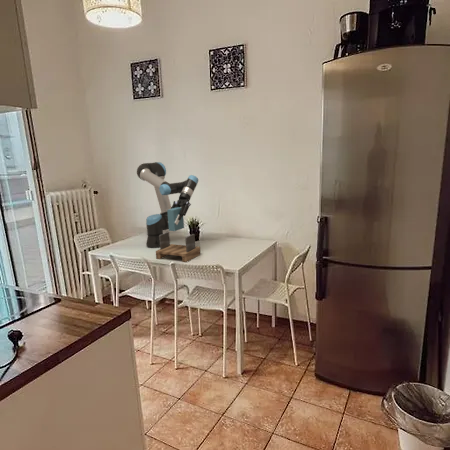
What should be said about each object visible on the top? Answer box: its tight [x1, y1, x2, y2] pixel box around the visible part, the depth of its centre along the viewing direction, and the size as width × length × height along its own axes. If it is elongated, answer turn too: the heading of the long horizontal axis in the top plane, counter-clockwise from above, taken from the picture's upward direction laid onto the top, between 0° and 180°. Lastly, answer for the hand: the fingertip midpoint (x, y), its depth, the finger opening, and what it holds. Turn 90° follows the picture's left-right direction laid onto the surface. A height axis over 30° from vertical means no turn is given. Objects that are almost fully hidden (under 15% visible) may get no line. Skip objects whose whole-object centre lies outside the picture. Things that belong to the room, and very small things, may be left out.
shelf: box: [155, 231, 201, 263], centre depth 244 cm, size 24×18×16 cm
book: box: [167, 207, 185, 232], centre depth 240 cm, size 5×10×14 cm, turn 149°
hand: (172, 223), depth 238 cm, fingers closed on book, 5 cm apart
